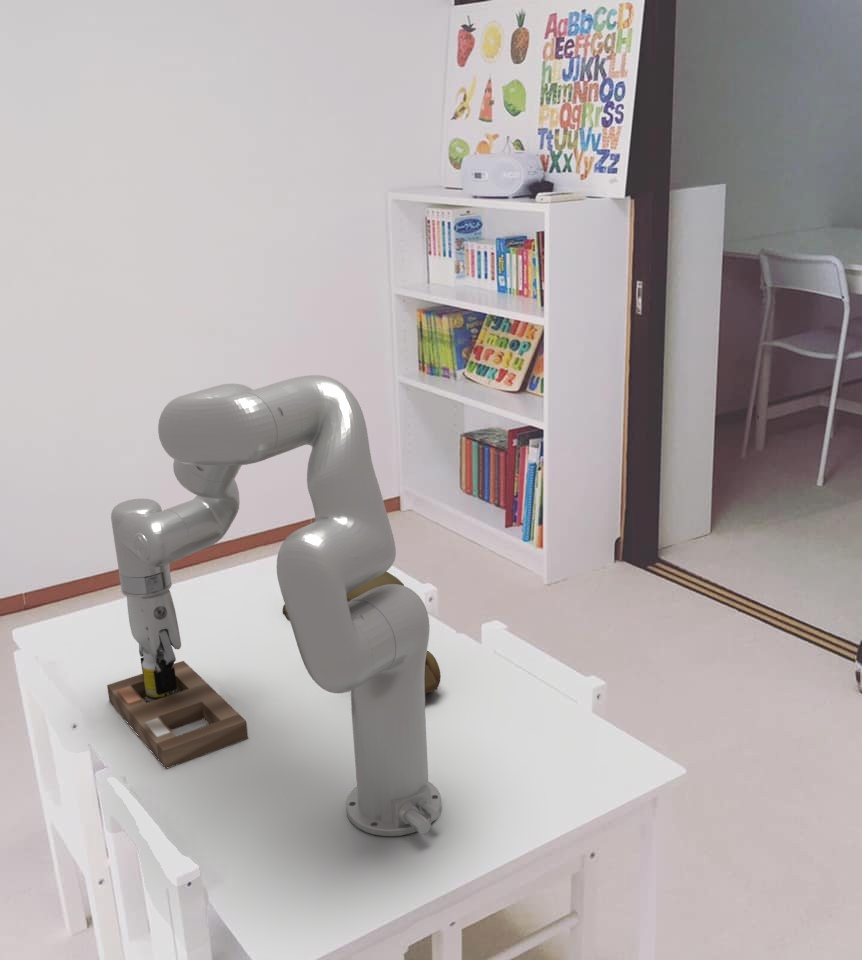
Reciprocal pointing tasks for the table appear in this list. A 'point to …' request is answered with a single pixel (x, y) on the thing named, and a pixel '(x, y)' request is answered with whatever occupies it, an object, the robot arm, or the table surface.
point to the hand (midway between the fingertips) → (160, 683)
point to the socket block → (178, 716)
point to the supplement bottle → (151, 676)
